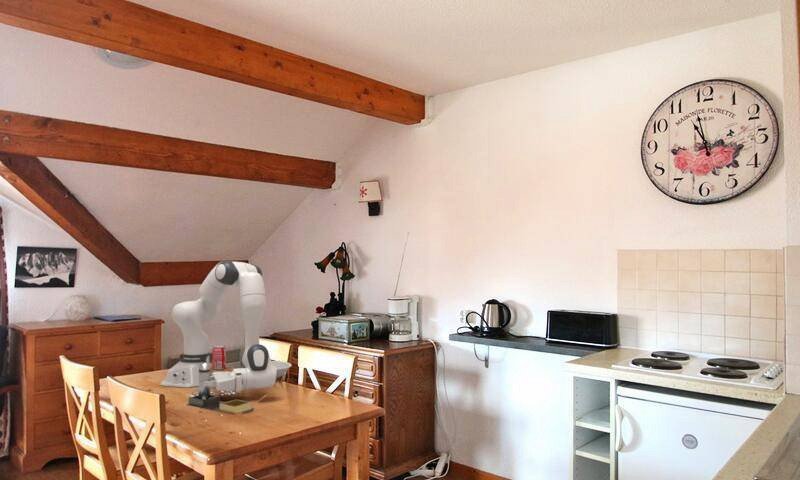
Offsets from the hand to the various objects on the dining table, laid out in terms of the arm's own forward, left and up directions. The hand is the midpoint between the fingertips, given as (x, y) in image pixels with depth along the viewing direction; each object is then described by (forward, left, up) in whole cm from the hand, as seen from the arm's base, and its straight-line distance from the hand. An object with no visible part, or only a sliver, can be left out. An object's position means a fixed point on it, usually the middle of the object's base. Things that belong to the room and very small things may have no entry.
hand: (202, 382), depth 229 cm
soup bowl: (+11, +52, -10) cm, 54 cm away
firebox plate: (+9, -4, -10) cm, 13 cm away
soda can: (-21, +72, -10) cm, 76 cm away
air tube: (+1, 0, -9) cm, 9 cm away
